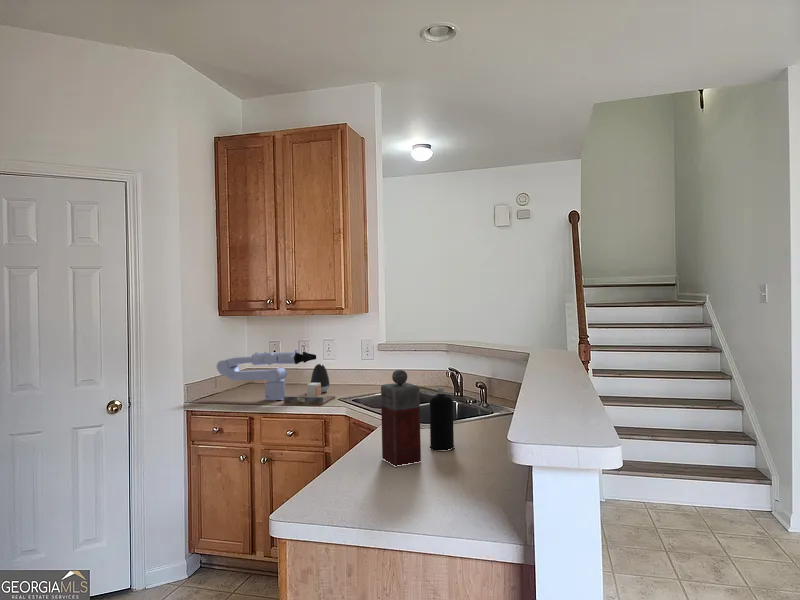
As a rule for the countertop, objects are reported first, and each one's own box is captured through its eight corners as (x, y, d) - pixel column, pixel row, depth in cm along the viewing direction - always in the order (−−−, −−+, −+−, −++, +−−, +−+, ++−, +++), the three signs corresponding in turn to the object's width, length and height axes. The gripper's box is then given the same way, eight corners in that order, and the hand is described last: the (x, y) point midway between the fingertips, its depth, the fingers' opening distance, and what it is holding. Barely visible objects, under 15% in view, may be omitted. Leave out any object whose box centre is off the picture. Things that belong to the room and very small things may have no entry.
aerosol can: (459, 449, 174) (458, 388, 174) (438, 453, 170) (437, 390, 170) (445, 443, 181) (444, 384, 181) (425, 447, 177) (423, 387, 177)
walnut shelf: (283, 403, 255) (283, 396, 255) (298, 397, 272) (298, 390, 272) (322, 404, 250) (322, 397, 250) (335, 397, 267) (335, 391, 267)
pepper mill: (403, 453, 170) (402, 366, 170) (421, 462, 161) (419, 370, 160) (378, 457, 166) (376, 368, 166) (395, 467, 156) (393, 372, 156)
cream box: (307, 399, 261) (306, 384, 261) (312, 396, 267) (312, 382, 267) (316, 399, 259) (316, 385, 259) (321, 396, 266) (321, 382, 266)
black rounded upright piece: (331, 390, 290) (331, 362, 290) (327, 393, 279) (326, 365, 279) (313, 390, 291) (312, 362, 291) (308, 393, 280) (307, 365, 280)
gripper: (281, 350, 259) (307, 349, 256) (293, 349, 273) (318, 348, 270) (281, 365, 258) (307, 364, 255) (293, 363, 272) (318, 362, 269)
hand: (313, 357), depth 262 cm, fingers open, 7 cm apart
